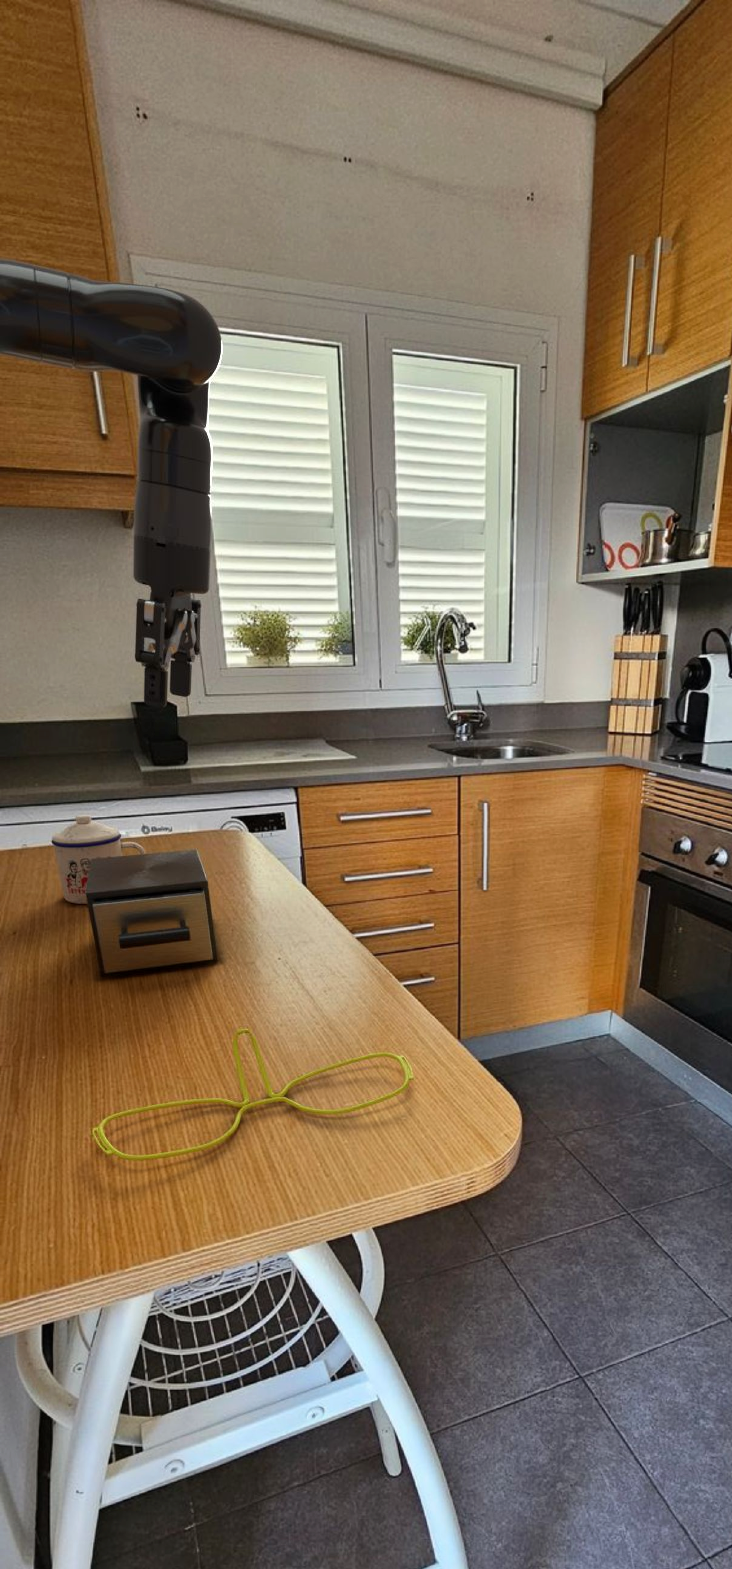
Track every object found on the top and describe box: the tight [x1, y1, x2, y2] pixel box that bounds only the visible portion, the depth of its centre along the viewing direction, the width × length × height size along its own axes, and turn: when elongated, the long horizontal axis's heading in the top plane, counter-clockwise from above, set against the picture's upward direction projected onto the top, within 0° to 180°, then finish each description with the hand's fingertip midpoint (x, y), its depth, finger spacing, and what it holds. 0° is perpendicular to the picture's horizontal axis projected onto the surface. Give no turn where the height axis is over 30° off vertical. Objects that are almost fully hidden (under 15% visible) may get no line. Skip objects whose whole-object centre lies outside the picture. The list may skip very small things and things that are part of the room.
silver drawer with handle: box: [93, 889, 213, 973], centre depth 96 cm, size 19×11×8 cm, turn 20°
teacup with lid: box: [51, 814, 147, 905], centre depth 120 cm, size 12×9×12 cm
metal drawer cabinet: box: [86, 848, 219, 977], centre depth 100 cm, size 16×13×10 cm
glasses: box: [92, 1028, 415, 1162], centre depth 66 cm, size 25×10×5 cm, turn 116°
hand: (168, 700), depth 93 cm, fingers open, 8 cm apart
